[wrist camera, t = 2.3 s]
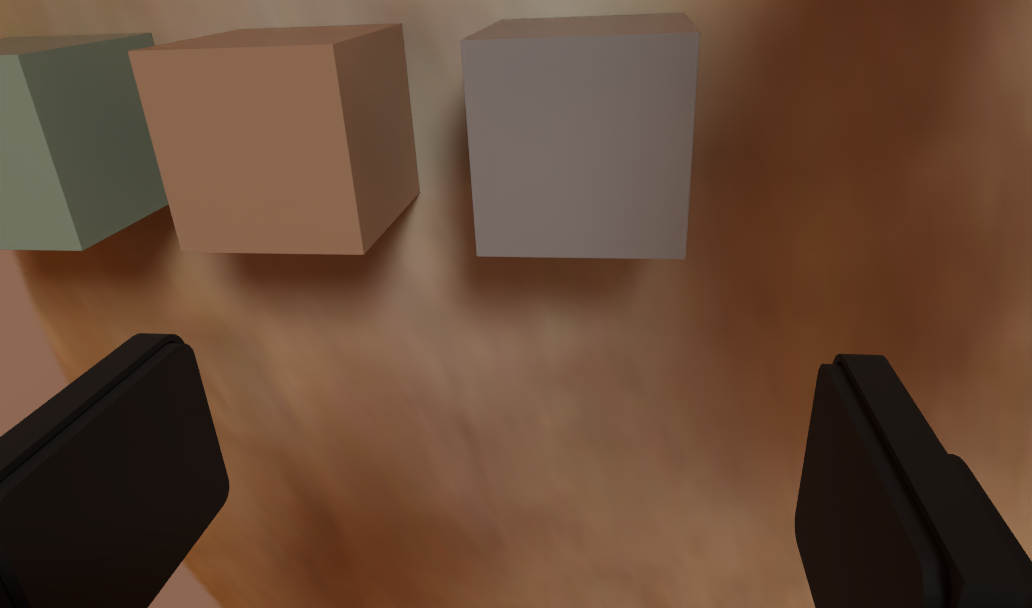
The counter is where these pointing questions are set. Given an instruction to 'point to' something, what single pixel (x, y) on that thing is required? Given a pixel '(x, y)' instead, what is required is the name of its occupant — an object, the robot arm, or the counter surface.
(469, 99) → the grey open box
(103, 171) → the green open box
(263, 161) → the tan cardboard-coloured box
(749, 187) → the counter surface
